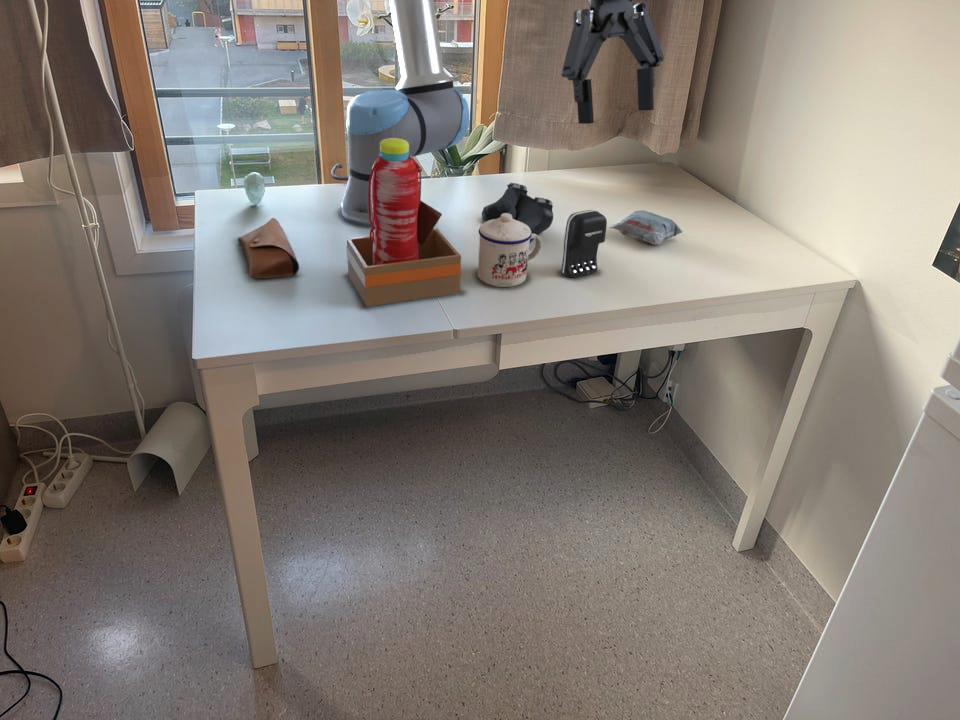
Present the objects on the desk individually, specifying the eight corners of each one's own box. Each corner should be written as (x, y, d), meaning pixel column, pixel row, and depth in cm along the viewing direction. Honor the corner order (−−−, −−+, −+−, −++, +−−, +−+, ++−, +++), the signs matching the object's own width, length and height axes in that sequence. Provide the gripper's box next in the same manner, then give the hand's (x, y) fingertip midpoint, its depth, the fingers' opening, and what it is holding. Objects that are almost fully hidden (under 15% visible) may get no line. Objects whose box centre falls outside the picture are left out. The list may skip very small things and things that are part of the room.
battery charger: (571, 281, 133) (579, 220, 126) (559, 272, 135) (566, 212, 129) (602, 274, 136) (611, 214, 130) (589, 265, 138) (598, 207, 132)
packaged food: (659, 254, 144) (664, 230, 142) (607, 235, 151) (611, 212, 148) (681, 242, 150) (686, 218, 147) (630, 225, 156) (634, 202, 154)
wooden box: (347, 276, 130) (345, 238, 126) (436, 264, 136) (437, 228, 132) (365, 307, 121) (364, 268, 117) (459, 293, 126) (461, 256, 123)
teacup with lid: (491, 292, 127) (495, 228, 121) (467, 270, 134) (470, 208, 128) (550, 280, 132) (558, 218, 126) (525, 259, 139) (530, 200, 133)
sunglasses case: (234, 236, 140) (249, 205, 138) (269, 250, 144) (284, 220, 142) (249, 279, 126) (267, 245, 124) (288, 292, 130) (305, 260, 128)
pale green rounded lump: (243, 198, 157) (239, 167, 154) (263, 196, 159) (259, 165, 155) (250, 212, 151) (246, 180, 147) (270, 210, 153) (267, 178, 149)
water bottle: (423, 268, 134) (425, 127, 120) (445, 287, 128) (449, 141, 115) (361, 281, 128) (355, 135, 115) (381, 302, 123) (377, 151, 109)
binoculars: (544, 256, 147) (569, 210, 144) (520, 247, 142) (545, 199, 140) (499, 226, 158) (521, 183, 156) (476, 217, 154) (498, 172, 151)
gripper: (564, -28, 105) (575, 129, 113) (684, -38, 117) (686, 104, 125) (530, -20, 110) (543, 128, 119) (648, -30, 123) (652, 105, 131)
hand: (616, 116), depth 122 cm, fingers open, 13 cm apart
